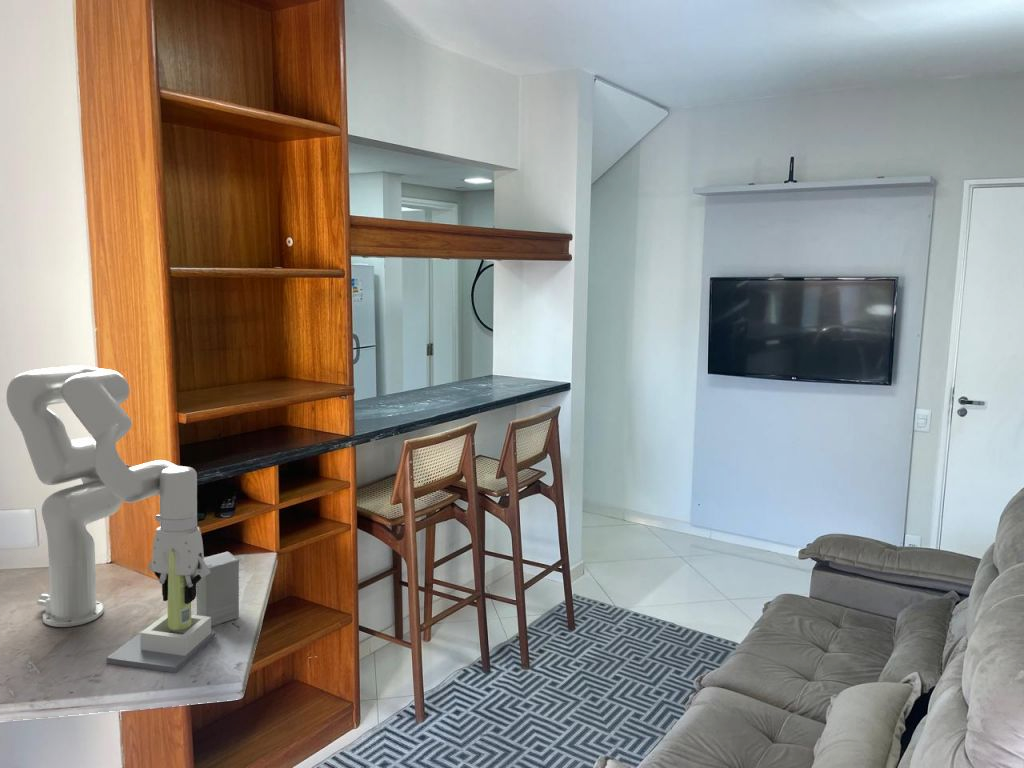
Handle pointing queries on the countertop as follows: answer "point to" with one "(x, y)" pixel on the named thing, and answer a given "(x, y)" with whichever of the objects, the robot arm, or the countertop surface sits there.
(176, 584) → the tube
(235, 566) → the skincare box
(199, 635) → the dock
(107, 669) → the countertop surface
